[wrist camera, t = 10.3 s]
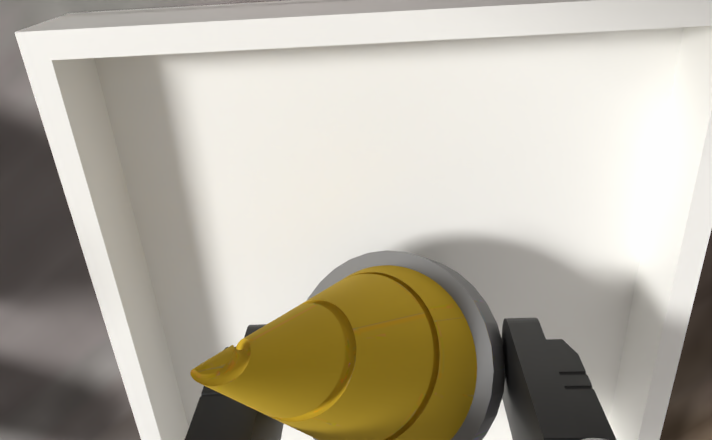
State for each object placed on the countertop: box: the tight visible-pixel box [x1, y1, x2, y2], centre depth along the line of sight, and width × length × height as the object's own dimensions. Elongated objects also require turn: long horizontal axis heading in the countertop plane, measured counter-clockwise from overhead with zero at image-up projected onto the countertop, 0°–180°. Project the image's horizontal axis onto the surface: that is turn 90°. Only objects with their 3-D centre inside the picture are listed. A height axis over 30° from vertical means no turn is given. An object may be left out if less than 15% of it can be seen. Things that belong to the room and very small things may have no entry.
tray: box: [15, 0, 712, 440], centre depth 17 cm, size 15×15×2 cm
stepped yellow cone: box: [190, 250, 505, 440], centre depth 13 cm, size 5×5×10 cm
